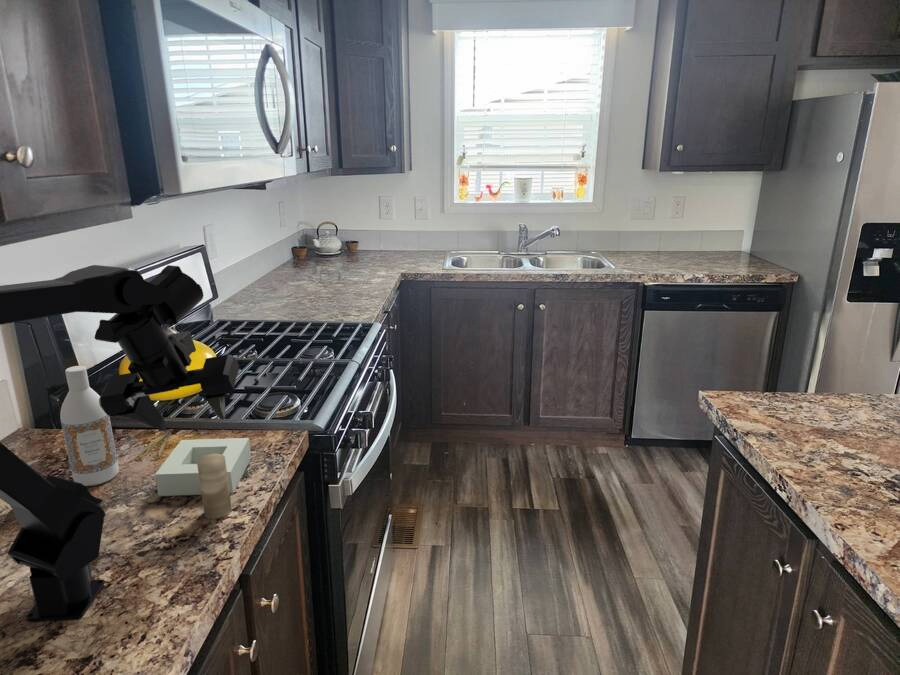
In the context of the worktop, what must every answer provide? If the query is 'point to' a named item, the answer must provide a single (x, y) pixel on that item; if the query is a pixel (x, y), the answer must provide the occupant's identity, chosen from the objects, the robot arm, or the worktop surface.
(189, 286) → the robot arm
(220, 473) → the peg
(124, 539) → the worktop surface
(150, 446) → the tongs
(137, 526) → the worktop surface
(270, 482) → the worktop surface
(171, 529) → the worktop surface
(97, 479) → the bath foam
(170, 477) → the socket block
